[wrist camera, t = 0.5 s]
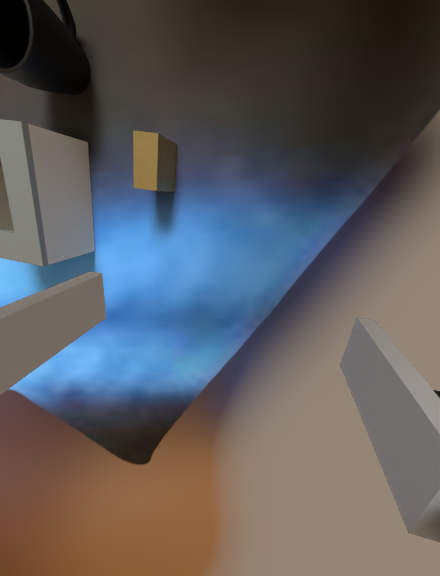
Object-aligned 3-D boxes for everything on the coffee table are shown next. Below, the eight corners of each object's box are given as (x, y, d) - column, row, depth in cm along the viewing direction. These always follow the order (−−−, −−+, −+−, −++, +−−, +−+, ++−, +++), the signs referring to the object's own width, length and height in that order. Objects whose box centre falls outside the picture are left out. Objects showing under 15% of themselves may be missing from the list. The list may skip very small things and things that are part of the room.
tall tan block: (156, 142, 33) (133, 130, 27) (177, 144, 32) (158, 133, 27) (155, 189, 35) (133, 187, 29) (174, 192, 35) (156, 190, 29)
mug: (117, 12, 29) (49, -69, 20) (89, 119, 33) (24, 90, 25) (58, -25, 28) (-36, -125, 20) (38, 86, 33) (-45, 46, 24)
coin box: (16, 133, 36) (-71, 111, 27) (87, 142, 34) (20, 121, 25) (33, 239, 42) (-34, 250, 33) (95, 251, 40) (43, 266, 31)
